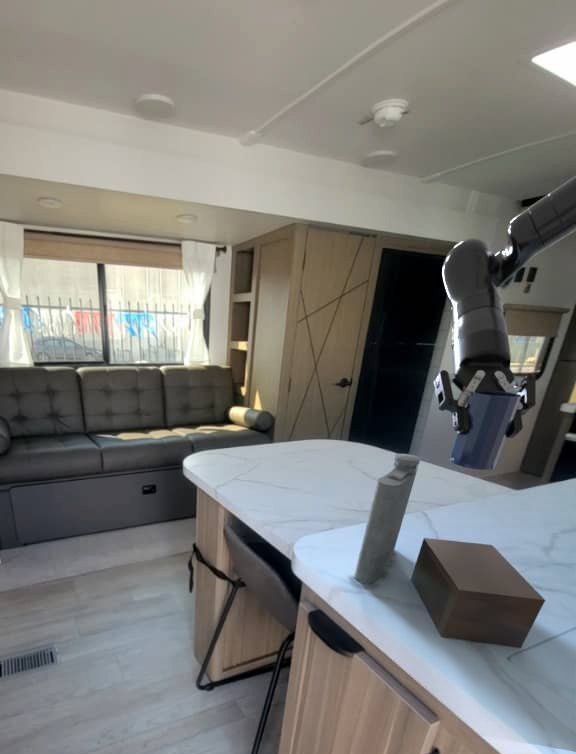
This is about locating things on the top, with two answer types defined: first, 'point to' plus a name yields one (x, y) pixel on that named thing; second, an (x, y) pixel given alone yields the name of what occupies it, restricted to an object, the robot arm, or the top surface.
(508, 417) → the blue cup
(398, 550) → the top surface
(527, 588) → the walnut wood box
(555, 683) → the top surface
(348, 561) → the top surface
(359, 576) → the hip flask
